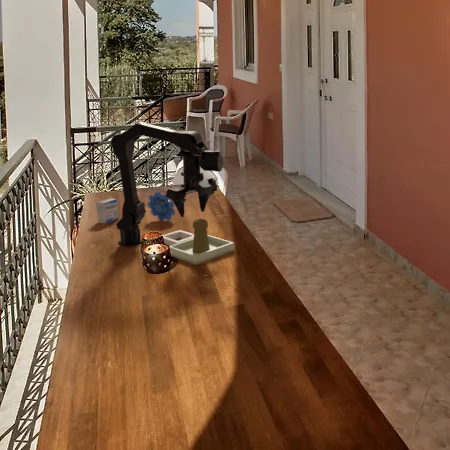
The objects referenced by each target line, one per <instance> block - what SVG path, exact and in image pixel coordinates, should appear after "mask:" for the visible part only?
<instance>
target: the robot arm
mask: <svg viewBox="0 0 450 450" xmlns="http://www.w3.org/2000/svg"><path fill="white" fill-rule="evenodd" d="M142 136H143V137H147V138H152V139H156V140H159V141H162V142H168V143H171V144H173V145H174V146H176V147H177V148H179V149H180V151H179V152H178V153H177V154H176V156H177V157H181V158H182V168H183V169H182V172H180V176H181V177H183V183H181V184H180V186H181V187H176V186H175V187H171V188H168V189H166V191H165V194H166V197H168V198H169V200H170V201H173V203H174V207H176V210H177V211H178V214H179V215H180V217H181V218H184V217H185V203H186V201H187V199H186V197H187V195H188V194H193V193H196V192H197V196H198V202H199V208H200V212H202V213H203V212H205V209H206V207H207V205H208V204H207V203H208V201H209V199H210V197H211V196H212V195H214V194H215V192H218V185H217V180H216V179H215V178H214V177H210V178H204V172H201V169H202V171H205V172H220V173H221V172H222V170H223V166H224V159H223V156H222V152H221V150H209V148H208V147H207V145H206V144H205V142H204V141H203V139H202V136H201V134H200V133H199V131H196V130H195V131H194V130H175V129H171V128H165V127H162V126H157V125H155V124H150V123H147V122H144V121H141V122H138V123H135V124H134V125H132V126H131V127H130V128H128V129H126V130H125V131H123V132H120V133H118V134H115V135H113V136H112V138H111V140H110V145H111V148H112V152H113V154H114V155H115V157H116V159H117V160H118V168H119V171H120V172H119V173H120V180H121V184H122V185H121V187H122V191H123V193H122V194H123V199H124V201H123V205H122V209H121V210H122V211H121V215H122V216H121V218H120V219H119V220H118V222H117V223H116V224H115V225H116V227H117V230H119V236H120V237H119V238H120V240H118V241H117V242H118V244H121V245H123V246H126V247H132V246H135V245H139V244H142V243H141V241H142V240H141V229H140V224H141V223H142V220H143V219H144V218H145V216H146V213H147V211H146V208H145V207H146V204H145V201H141V200H140V198H139V196H138V189H137V183H136V182H137V181H136V176H135V168H134V162H133V156H134V152H135V142H136V141H137V140H139V139H140V138H141V137H142Z"/></svg>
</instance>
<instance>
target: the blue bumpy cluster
mask: <svg viewBox="0 0 450 450" xmlns="http://www.w3.org/2000/svg"><path fill="white" fill-rule="evenodd" d="M148 200H149V201H147V207H148V208H149V209H150V214H151V215H152V216H154V217H157V219H158V220H159V221H162V222H163V221H164V220H166V221H170V220H171V219H172V216H175V214H176V211H175V209H174V207H175V204H174V202H173V201H172V200H171V199H169V198H168V197H166V193H163V194H162V193H161V192H159V191H155V192H154V194H150V195H149V196H148Z"/></svg>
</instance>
